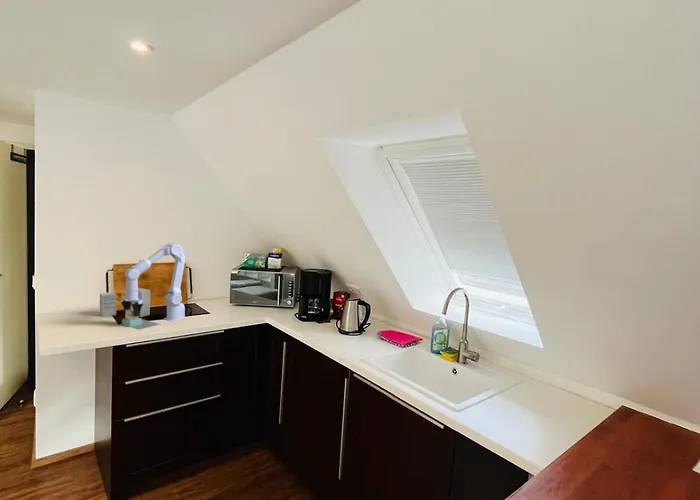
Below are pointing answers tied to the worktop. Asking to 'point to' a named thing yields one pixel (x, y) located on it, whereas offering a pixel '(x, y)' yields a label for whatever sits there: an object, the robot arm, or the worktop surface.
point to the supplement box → (108, 304)
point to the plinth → (132, 322)
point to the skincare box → (144, 302)
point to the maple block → (130, 315)
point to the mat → (145, 324)
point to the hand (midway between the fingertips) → (132, 315)
